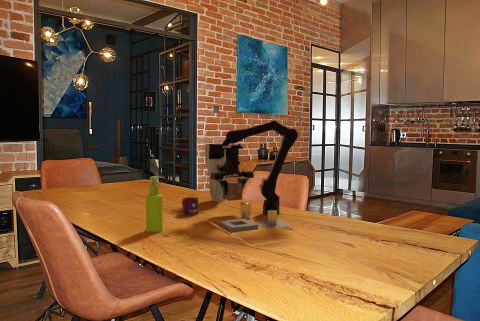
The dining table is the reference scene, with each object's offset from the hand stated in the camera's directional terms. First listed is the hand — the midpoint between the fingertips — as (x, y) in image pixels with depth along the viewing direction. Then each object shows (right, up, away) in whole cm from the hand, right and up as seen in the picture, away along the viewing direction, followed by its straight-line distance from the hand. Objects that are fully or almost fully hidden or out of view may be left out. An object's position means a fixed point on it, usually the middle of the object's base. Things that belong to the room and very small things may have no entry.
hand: (232, 194), depth 169 cm
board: (+16, -10, -18) cm, 26 cm away
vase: (-8, -6, +35) cm, 36 cm away
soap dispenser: (-28, -11, -27) cm, 40 cm away
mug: (-19, -9, +3) cm, 21 cm away
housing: (0, -2, 0) cm, 2 cm away
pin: (+6, -10, -9) cm, 14 cm away
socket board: (+3, -11, -23) cm, 25 cm away
